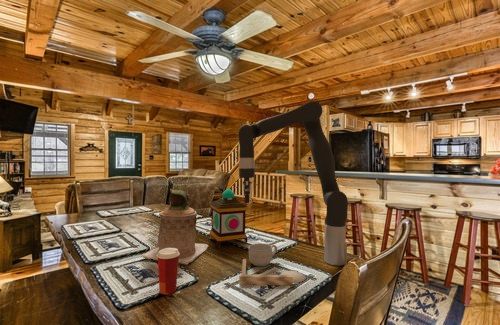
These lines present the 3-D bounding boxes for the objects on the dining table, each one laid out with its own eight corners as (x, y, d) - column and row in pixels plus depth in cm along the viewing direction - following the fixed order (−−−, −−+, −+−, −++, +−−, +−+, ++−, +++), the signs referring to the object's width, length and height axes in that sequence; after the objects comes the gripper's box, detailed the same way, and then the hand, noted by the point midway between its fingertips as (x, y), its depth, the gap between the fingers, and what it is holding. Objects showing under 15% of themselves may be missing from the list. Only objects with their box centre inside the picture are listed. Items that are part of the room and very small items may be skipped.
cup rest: (286, 266, 111) (286, 259, 111) (292, 285, 94) (292, 277, 94) (241, 265, 111) (241, 258, 111) (239, 284, 94) (239, 276, 94)
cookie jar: (190, 265, 111) (190, 192, 111) (139, 260, 116) (140, 190, 115) (210, 247, 135) (210, 187, 135) (167, 243, 140) (168, 185, 140)
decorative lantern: (206, 238, 150) (206, 187, 150) (237, 234, 158) (237, 186, 158) (216, 249, 132) (217, 191, 132) (250, 244, 140) (251, 190, 140)
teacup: (251, 270, 107) (252, 251, 107) (245, 260, 117) (245, 243, 117) (282, 266, 111) (282, 248, 111) (273, 257, 121) (273, 241, 121)
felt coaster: (302, 271, 106) (302, 270, 106) (307, 283, 96) (307, 282, 96) (278, 271, 106) (278, 270, 106) (281, 282, 96) (281, 281, 96)
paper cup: (181, 285, 93) (181, 247, 93) (176, 296, 85) (176, 254, 85) (160, 285, 93) (160, 247, 93) (152, 296, 85) (153, 254, 85)
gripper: (255, 167, 112) (255, 204, 112) (254, 167, 127) (254, 199, 127) (238, 167, 112) (238, 204, 112) (239, 167, 127) (239, 199, 127)
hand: (247, 201), depth 120 cm, fingers open, 8 cm apart
